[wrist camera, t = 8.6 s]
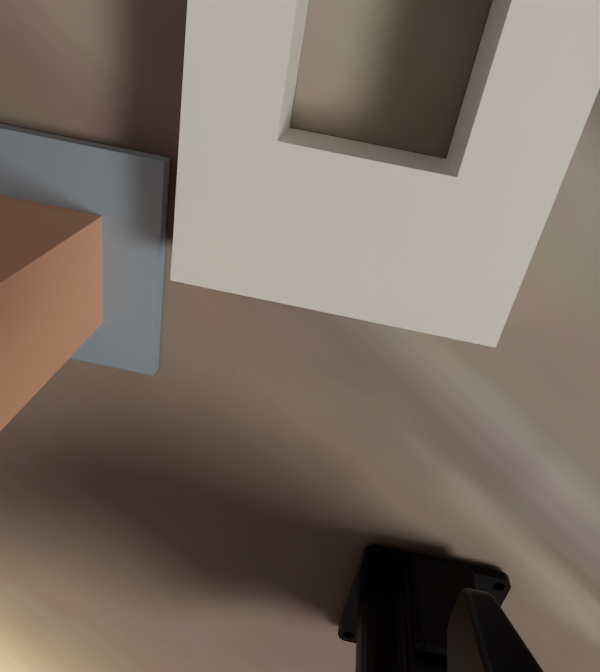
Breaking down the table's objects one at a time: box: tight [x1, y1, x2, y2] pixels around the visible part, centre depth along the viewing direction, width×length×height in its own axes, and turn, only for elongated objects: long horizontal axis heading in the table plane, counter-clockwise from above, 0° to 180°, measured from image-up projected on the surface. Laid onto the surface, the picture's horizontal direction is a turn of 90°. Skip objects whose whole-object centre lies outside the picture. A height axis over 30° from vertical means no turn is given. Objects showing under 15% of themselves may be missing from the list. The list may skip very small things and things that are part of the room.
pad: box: [0, 123, 170, 376], centre depth 19 cm, size 8×8×1 cm
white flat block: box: [170, 0, 600, 348], centre depth 14 cm, size 14×10×2 cm
